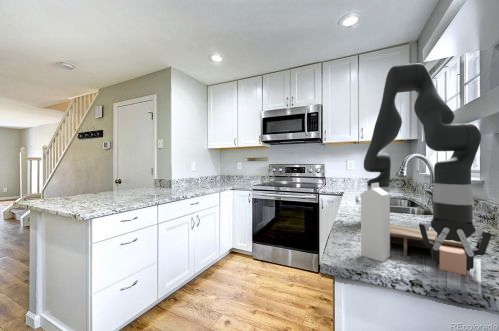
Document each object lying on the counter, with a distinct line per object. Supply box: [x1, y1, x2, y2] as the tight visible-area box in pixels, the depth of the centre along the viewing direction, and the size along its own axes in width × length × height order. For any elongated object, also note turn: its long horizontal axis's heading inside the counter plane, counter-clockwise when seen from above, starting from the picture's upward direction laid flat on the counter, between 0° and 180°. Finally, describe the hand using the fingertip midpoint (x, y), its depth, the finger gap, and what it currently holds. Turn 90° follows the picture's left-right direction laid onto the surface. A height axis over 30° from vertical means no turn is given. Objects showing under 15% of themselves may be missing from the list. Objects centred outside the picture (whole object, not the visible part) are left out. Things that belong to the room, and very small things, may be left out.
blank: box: [438, 244, 467, 276], centre depth 59 cm, size 10×5×5 cm, turn 143°
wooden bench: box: [390, 223, 466, 262], centre depth 68 cm, size 12×21×6 cm, turn 54°
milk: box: [360, 183, 391, 263], centre depth 65 cm, size 6×6×22 cm
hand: (451, 266), depth 56 cm, fingers closed on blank, 5 cm apart
